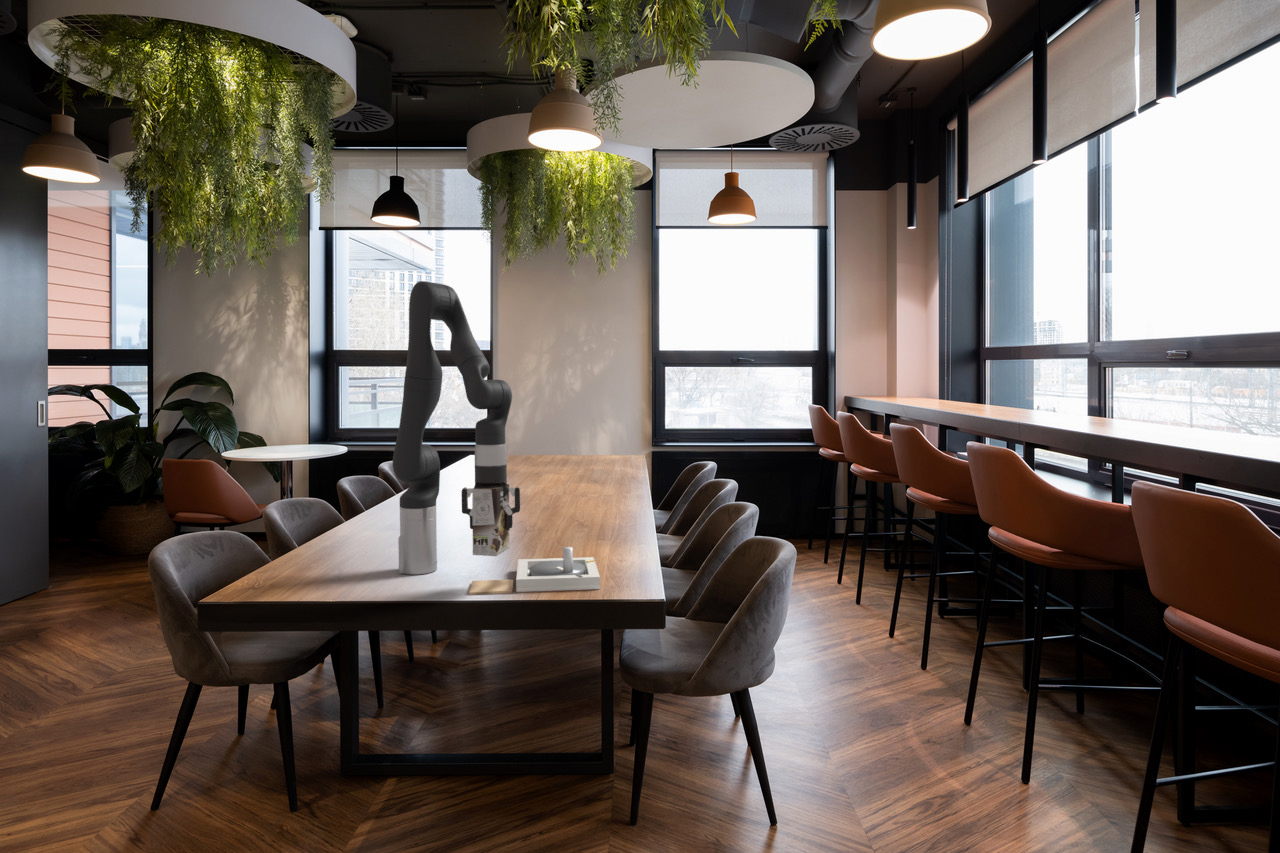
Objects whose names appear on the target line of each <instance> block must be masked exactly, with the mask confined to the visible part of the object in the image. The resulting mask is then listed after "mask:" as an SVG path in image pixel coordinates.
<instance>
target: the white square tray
mask: <svg viewBox="0 0 1280 853" xmlns="http://www.w3.org/2000/svg"><path fill="white" fill-rule="evenodd" d="M595 560H596V559H595V557H593V556H590V557H587V556H586V557H585V556H584V557H573V562H576V563H580V564H582V565H584V566H585V575H579V574H576V575H558V576H530V575H529V568H530V567H531V566H532V565H534V564H537V563H542V562H549V561H563V557H560V558H559V557H557V558H555V557H553V558H522V559H521V558H520V559H519V558H518V559H517V569H516V579H515V580H516V584H515V586H516V591H515V592H516V593H522V592H523V593H525V592H527V593H528V592H551V591H552V592H553V591H579V590H580V591H582V590H583V591H584V590H585V591H586V590H600V589H601V576H600V573H599V572H600V571H599V570H598V566H597V562H596V561H595Z"/></svg>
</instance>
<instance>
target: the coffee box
mask: <svg viewBox="0 0 1280 853" xmlns="http://www.w3.org/2000/svg"><path fill="white" fill-rule="evenodd" d="M507 486H508V487H509V488H510V484H509V483H507ZM472 490H473V491H472V493H471V498H472V504H471V506H472V508H471V509H473V515H472V516H473V519H472V520H473V529H472V555H473V556H484V557H485V556H486V557H498V556H499V555H501V554H503V553H504V552H506V551H507V550H509V549H510V546H511V545H510V544H511V543H510V540H511V539H510V531H507V524H506V515H507V512H506V511H505V510H504V508H503V499H504V501H505V502H507V503H508V504H509V505H510V492H508V494H507V495H506V496H505V498H504V495H503V487H501V486H489V487H476V488H474V487H473V489H472Z"/></svg>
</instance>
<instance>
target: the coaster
mask: <svg viewBox="0 0 1280 853" xmlns="http://www.w3.org/2000/svg"><path fill="white" fill-rule="evenodd" d="M513 586H514V579H492V580H491V579H490V580H487V579H485V580H472V581H471V585H470V587H469V590H468V595H469V596H473V595H474V596H475V595H476V596H477V595H497V594H499V595H501V594H503V595H505V594H513Z"/></svg>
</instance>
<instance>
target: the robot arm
mask: <svg viewBox="0 0 1280 853" xmlns="http://www.w3.org/2000/svg"><path fill="white" fill-rule="evenodd" d="M460 300H461V299H460V298H459V296H458V294H457V292H456V290H455V288H453V287H452V286H450V285H448V284H447V285H446V284H442V283H436V282H431V281H424V280H421V281H420V280H419V281H417V282H416V283H415V284H414V285H413V287H412V289H411V292H410V296H409V303H408V345H407V346H408V347H407V357H406V358H407V359H406V366H405V372H404V383H403V397H402V404H401V412H400V420H399V426H398V431H397V436H396V442H395V446H394V451H393V456H392V469H393V470H392V471H393V473H394V475H395V476H396V478H397V479H398V480H399V481H400V482H405V483H409V486H408V488H407V489H406V490H405V491H404V492H403V493H402V494H400V497H399V528H400V529H399V536H398V574H403V575H424V574H425V575H426V574H429V573H433V572H436V571H437V569H438V549H437V548H438V547H437V545H438V544H437V543H438V542H437V541H438V540H437V538H438V537H437V532H438V531H437V498H438V496H439V493H440V482H441V480H440V478H441V476H440V475H441V461H440V457H439V456H440V455H439V453H438V451H437V449H436V448H434V447H433V445H429V444H427V443H426V444H425V443H424V444H423V438H424V432H425V429H426V426H427V424H428V422H429V420H430V419H431V417H432V415H433V413H434V411H435V409H436V408H437V406H438V403H439V402H440V401H439V400H440V398H441V392H442V385H443V384H442V383H443V370H442V365H441V363H440V361H439V358H438V355H437V353H436V350H435V348H434V346H433V343H432V337H431V322H432V320H433V321H442V322H443V323H444V324H445V325H446V327H447V328H448V330H449V331H450V335H451V337H450V338H451V339H450V348H449V350H450V354H451V359H452V361H453V362H454V364H455V366H456V367H457V370H458V371H459V373H460V375H461V377H462V380H463V385H464V389H465V390H464V391H465V394H466V399H467V401H468V403H469V404H470V405H471V406H472V407H473V408H475V409H477V410H489V411H488V414H487V416H486V417H485V418H483V419H480V420H478V421H477V422H476V423H475V427H474V428H475V449H474V486H473V488H476V487H489V486H501V487H503V495H504V498H505V496H506V495H507V494H508V492H509V494H511V497H514V507H511V505H510V503H509V504H508V503H507V502H505V501H504V499H503V508H504V510H505V511H506V512H507V515H506V524H507V531H510V530H511V529H512V528H513V524H514V523H513V520H514V519H513V515H514V514H516V513H519V512H520V511H521V488H520V486H515V487H510V486H509V487H508V486H507V484H508V478H507V477H508V474H507V471H508V470H507V468H508V466H507V462H508V458H507V449H506V448H507V447H506V425H507V421H508V417H509V413H510V409H511V406H512V402H513V401H512V399H513V394H512V389H511V386H510V385H509V383H508V382H507V381H505V380H503V379H485V378H487V377H488V375H489V373H490V372H491V371H490V369H491V366H490V364H489V361H488V360H487V358H486V357H485V354H484V353H483V351H482V350H481V347H479V345H478V342H477V341H476V339H475V337H474V335H473V333H472V332H473V331H472V330H471V327H470V325H469V321H468V318H467V316H466V314H465V311H464V307H463V306H462V303H461V301H460ZM473 488H467V487H463V488H462V489H461V513H462V514H465V515H468V516H469V528H470V529H471V530H473V520H472V519H473V516H472V515H473V509H472V508H469V507H468V506H469V505H468V504H469V500H468V498H470V497H471V496H472V491H473V490H472V489H473Z"/></svg>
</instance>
